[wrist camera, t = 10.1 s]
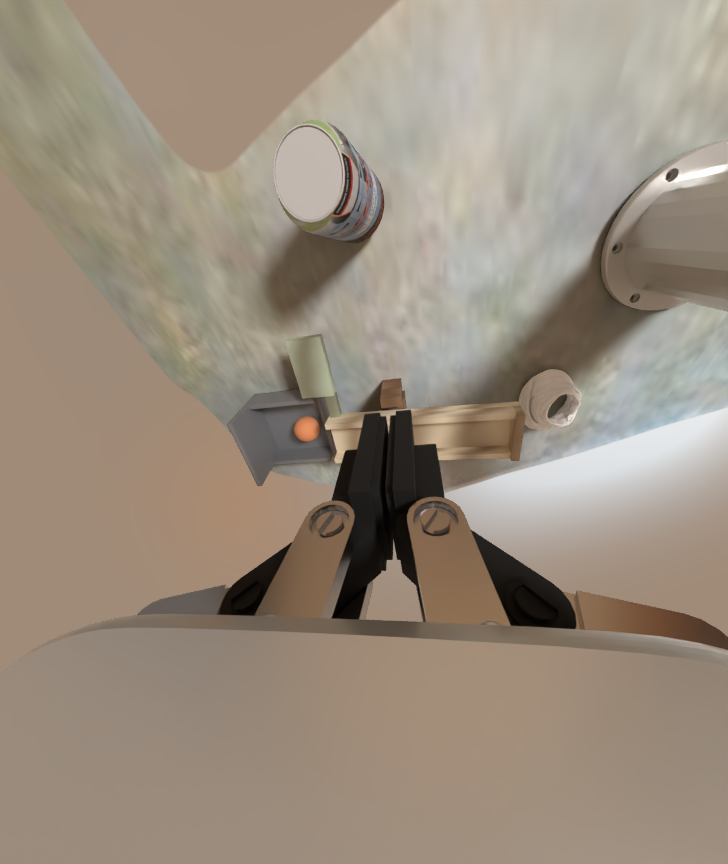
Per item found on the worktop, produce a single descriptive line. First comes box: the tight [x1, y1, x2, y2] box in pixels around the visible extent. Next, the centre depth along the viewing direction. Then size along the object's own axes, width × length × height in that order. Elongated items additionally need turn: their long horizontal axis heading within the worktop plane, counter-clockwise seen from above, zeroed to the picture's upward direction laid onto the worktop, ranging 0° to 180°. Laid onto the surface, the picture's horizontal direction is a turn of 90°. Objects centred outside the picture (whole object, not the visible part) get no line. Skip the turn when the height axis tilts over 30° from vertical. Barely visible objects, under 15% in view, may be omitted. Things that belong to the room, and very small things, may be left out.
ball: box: [294, 416, 320, 442], centre depth 42 cm, size 4×4×4 cm
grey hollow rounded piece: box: [518, 369, 581, 430], centre depth 36 cm, size 8×7×5 cm
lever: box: [285, 334, 526, 463], centre depth 34 cm, size 24×17×4 cm
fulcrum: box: [380, 378, 406, 411], centre depth 39 cm, size 3×10×5 cm, turn 10°
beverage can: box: [273, 120, 384, 243], centre depth 24 cm, size 6×7×12 cm
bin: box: [227, 389, 337, 486], centre depth 41 cm, size 10×10×8 cm
